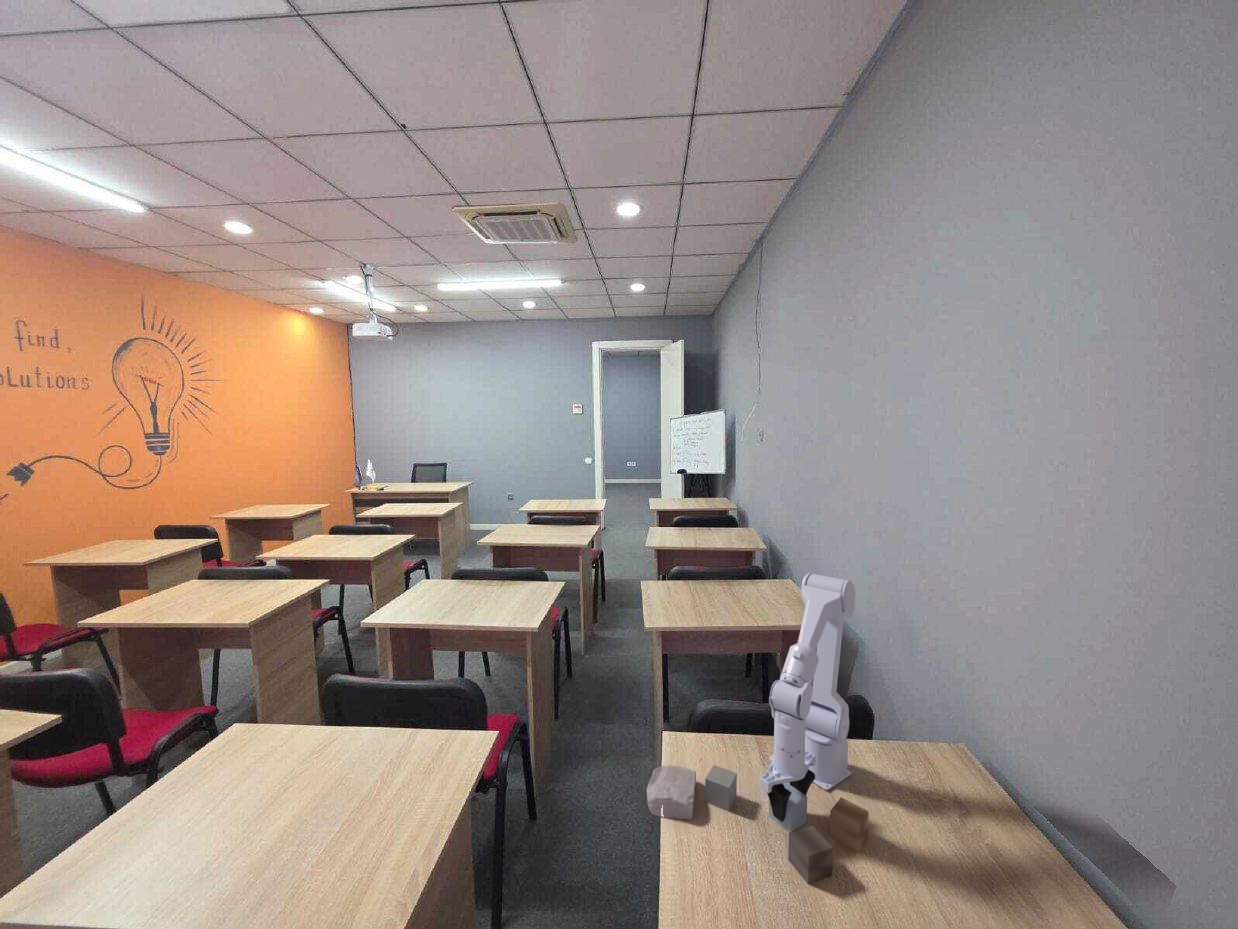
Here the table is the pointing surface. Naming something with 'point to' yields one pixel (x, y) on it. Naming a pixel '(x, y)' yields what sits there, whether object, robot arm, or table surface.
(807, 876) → the ebony cube
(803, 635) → the robot arm
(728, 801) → the grey cube
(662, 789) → the stone block
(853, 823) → the walnut cube
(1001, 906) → the table surface
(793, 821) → the slate blue cube
